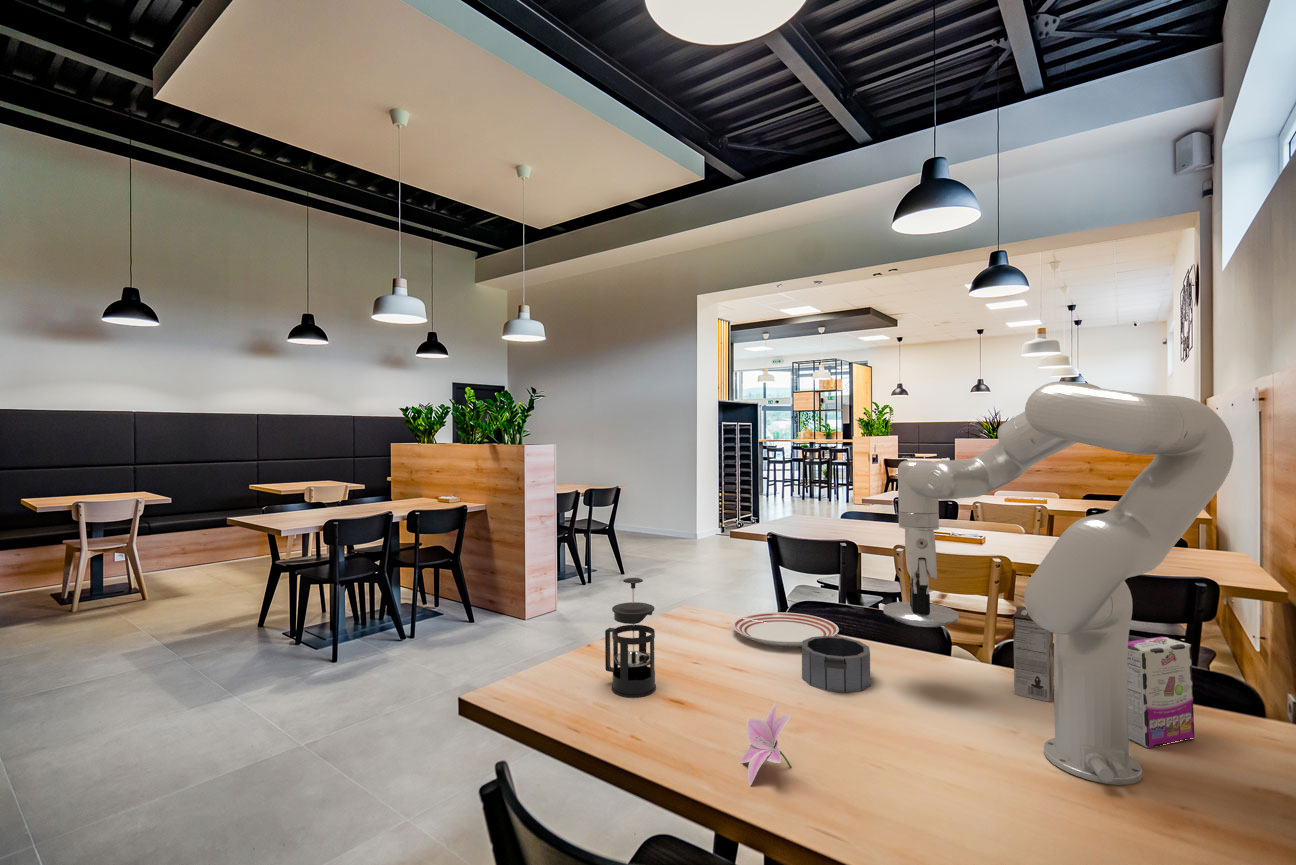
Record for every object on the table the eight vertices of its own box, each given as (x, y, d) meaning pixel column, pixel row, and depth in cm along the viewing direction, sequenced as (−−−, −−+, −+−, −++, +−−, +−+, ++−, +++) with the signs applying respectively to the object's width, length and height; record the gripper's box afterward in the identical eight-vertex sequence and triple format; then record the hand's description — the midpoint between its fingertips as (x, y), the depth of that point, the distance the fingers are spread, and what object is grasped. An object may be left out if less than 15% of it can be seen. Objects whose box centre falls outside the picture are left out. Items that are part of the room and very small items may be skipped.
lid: (965, 632, 114) (964, 600, 114) (886, 627, 118) (885, 595, 118) (951, 612, 127) (951, 583, 128) (881, 608, 132) (880, 579, 132)
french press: (666, 684, 128) (665, 576, 129) (647, 701, 120) (646, 586, 120) (617, 675, 133) (616, 571, 134) (596, 691, 125) (595, 580, 125)
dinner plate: (713, 629, 166) (713, 617, 166) (792, 616, 177) (792, 605, 178) (774, 662, 141) (774, 648, 141) (862, 644, 153) (862, 631, 153)
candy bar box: (1163, 727, 108) (1162, 635, 108) (1195, 740, 103) (1193, 644, 103) (1116, 735, 105) (1115, 641, 105) (1147, 749, 100) (1145, 650, 100)
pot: (872, 698, 120) (871, 663, 121) (800, 690, 125) (799, 656, 125) (868, 668, 136) (867, 637, 136) (804, 662, 141) (804, 632, 141)
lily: (752, 749, 103) (726, 705, 102) (816, 734, 99) (791, 687, 98) (746, 811, 92) (717, 762, 91) (819, 796, 88) (790, 745, 87)
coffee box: (1018, 680, 129) (1017, 605, 129) (1054, 687, 125) (1053, 610, 125) (1013, 695, 122) (1012, 615, 122) (1051, 703, 118) (1050, 621, 118)
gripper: (945, 526, 114) (946, 624, 114) (932, 516, 130) (934, 601, 130) (902, 525, 116) (904, 620, 116) (895, 515, 132) (896, 599, 132)
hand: (919, 609), depth 123 cm, fingers closed on lid, 3 cm apart
